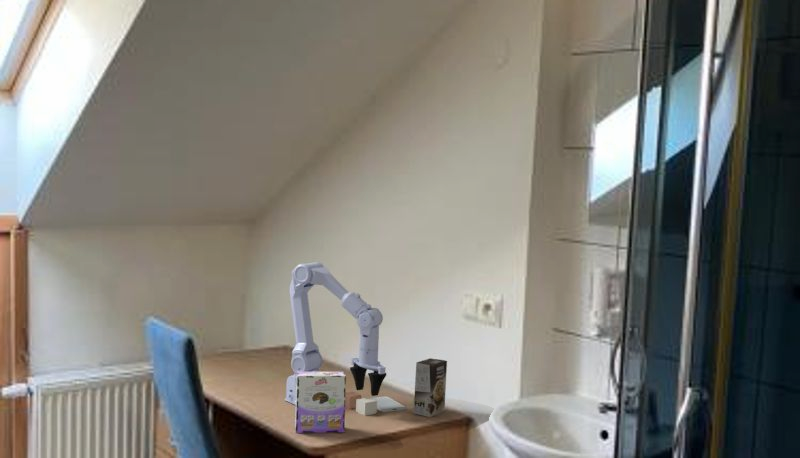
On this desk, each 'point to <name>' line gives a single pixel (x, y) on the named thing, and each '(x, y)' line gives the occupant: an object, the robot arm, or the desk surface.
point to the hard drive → (388, 404)
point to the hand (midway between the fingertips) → (367, 392)
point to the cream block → (366, 406)
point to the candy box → (320, 402)
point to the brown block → (351, 399)
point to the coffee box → (430, 387)
